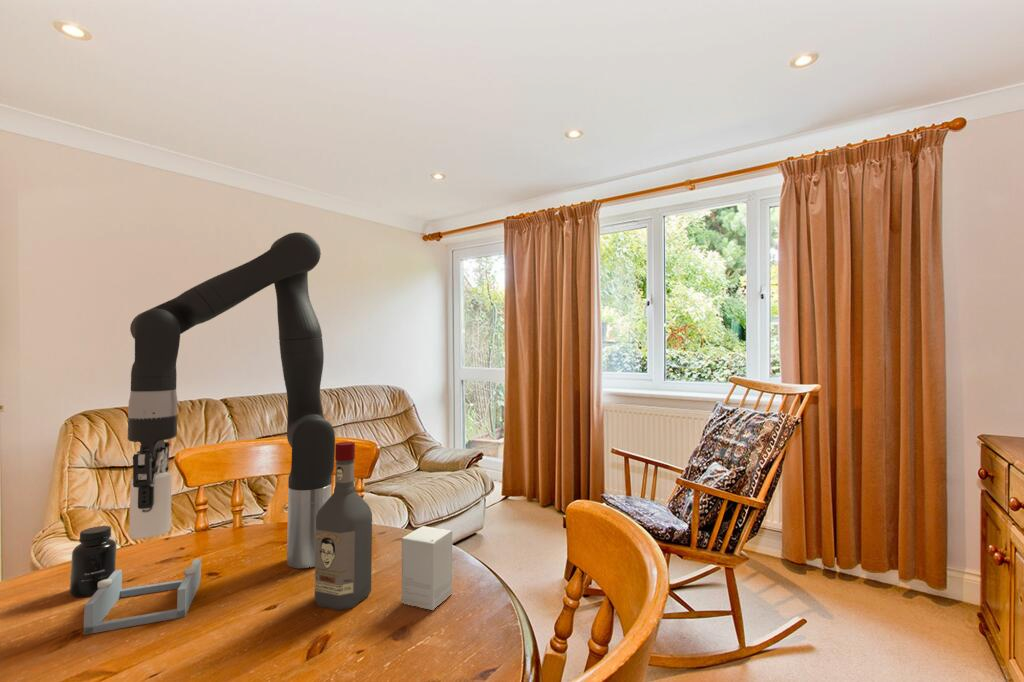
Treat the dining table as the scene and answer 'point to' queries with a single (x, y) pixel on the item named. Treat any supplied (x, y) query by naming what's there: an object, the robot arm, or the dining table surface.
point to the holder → (113, 591)
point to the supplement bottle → (92, 560)
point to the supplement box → (426, 567)
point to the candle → (151, 510)
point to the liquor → (343, 540)
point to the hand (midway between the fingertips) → (151, 502)
